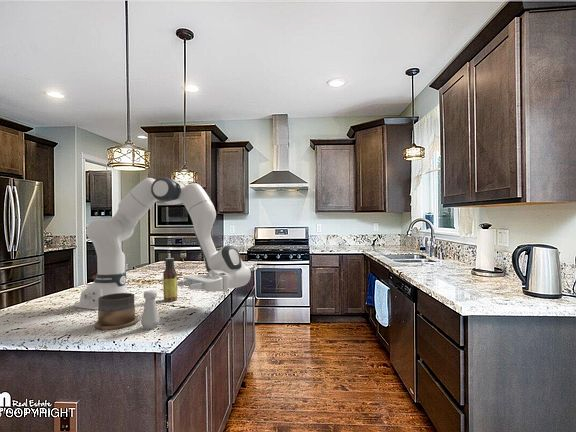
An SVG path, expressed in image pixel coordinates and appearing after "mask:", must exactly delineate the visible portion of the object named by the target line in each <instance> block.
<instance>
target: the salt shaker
mask: <svg viewBox="0 0 576 432" xmlns="http://www.w3.org/2000/svg"><path fill="white" fill-rule="evenodd" d="M157 296H158V293H157V291H156V290H152V289H151V290H146V291H144V292H143V298H144V299H145V301H144V307H143V311H142V316H141V321H140V322H141V323H140V324H141V325H142V327H143V330H147V331H151V330H155V329H156V328H157V327H158V325H159V323H160V317H159V312H158V307H157V302H156V298H157Z"/></svg>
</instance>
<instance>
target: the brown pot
mask: <svg viewBox="0 0 576 432" xmlns="http://www.w3.org/2000/svg"><path fill="white" fill-rule="evenodd" d="M138 322H139V319H138V317H137V316H136V305H135V294H134V293H131V292H127V293H115V294H109V295H105V296H101V297H100V298H99V299H98V310H97V321H96V322H95V323H94V329H96V330H99V331H113V330H114V331H115V330H122V329H124V328H125V329H127V328H130V327H132V326H135V325H136V324H137V323H138Z"/></svg>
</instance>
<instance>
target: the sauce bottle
mask: <svg viewBox="0 0 576 432" xmlns="http://www.w3.org/2000/svg"><path fill="white" fill-rule="evenodd" d="M164 262H165V269H164V271H163V272H162V275H163V276H162V278H163V279H162V283H163V284H162V287H163V289H162V291H163V301H164V302H174V301H176V300H178V285H177V282H178V274H177V271H176V268H175V258H174V257H167V258H165V260H164Z"/></svg>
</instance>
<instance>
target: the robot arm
mask: <svg viewBox="0 0 576 432" xmlns="http://www.w3.org/2000/svg"><path fill="white" fill-rule="evenodd" d="M156 202H162V203H164V204H168V205H174V206H181V205H184V207H185V209H186V211H187V213H188V215H189V217H190V219H191V222H192V225H193V230H194V235H195V238H196V240H197V242H198V246H199V248H200V250H201V253H202V256H203V259H204V266H205V270H206V271H207V273H206V275H204V274H195V275H185V276H184V277H183V279H182V280H180V281H179V280H177V287H184V286H187V287H188V290H201V291H205V292H210V293H211V292H212V293H216V292H228V290H229V289H236V288H240V287H244V286H246V285H247V284H248V283H249V282H250V280H251V276H252V273H251V272H252V271H251V269H250V268H249V267H248V266H247V265H246V264H245V263H244V262H243V259H242V257H241V254H240V251H239V250H238V248H236V247H234V246H233V245H225V246H224V247H222V248H221V249H219V250H218V251H217V249H216V246H215V244H214V241H213V239H212V228H213V225H214V222H215V220H216V218H217V217H216V216H217V211H216V209H215V206H214V203H213V202H212V200H211V198H210V196H209V195H208V193H207V192H206V191H205V189H204V188H203V187H202V186H201V185H200V184H199V183H195V182H192V183H191V182H190V183H189V184H187V185H186V184H185V183H183V182H181V181H179V180H177V179H173V178H170V177H166V176H165V177H158V178H152V177H146V178H145V179H142V180H141V181H140V182H138V184H136V185H135V186H134V187H133V188H132V189H130V191H129V192H128V193H127V194H126V196H125V197H124V198H123V199H122V200H120V202H119V203H118V204H117V206H118V209H117V210H116V212H115V213H114V215H113V216H111V217H102V218H98V219H95V220H92V221H91V222H89V223H88V225H87V226H86V231H85V233H86V236H87V239H89V240H90V241H91V243H92V244H93V247H94V250H95V253H96V262H97V266H96V267H97V273H96V274H95V275H92V276H91V277H92V279H94V280H93V283H91V284H90V285H88V286H87V288H85V289H83V290H82V292H80V297H79V301H77V302H75V303H73V307H74V308H79V309H80V308H82V309H87V310H96V311H98V299H99V298H100V297H101V296H105V295H109V294H115V293H128V292H127V285H126V282H127V272H126V254H125V253H124V252H123V251H122V247H121V245H120V242H124V241H126V240H128V239H129V238H131V237H132V236H133V234H134V231H135V228H136V226H137V224H138V223H139V221H140V220H141V219H142V218H143V216H144V215H145V214H146V213H147V212H148V211H149V210H150V209H151V207H153V205H155V203H156Z"/></svg>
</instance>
